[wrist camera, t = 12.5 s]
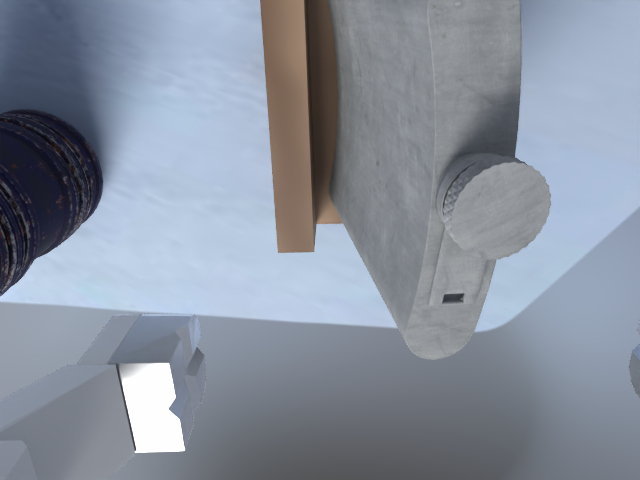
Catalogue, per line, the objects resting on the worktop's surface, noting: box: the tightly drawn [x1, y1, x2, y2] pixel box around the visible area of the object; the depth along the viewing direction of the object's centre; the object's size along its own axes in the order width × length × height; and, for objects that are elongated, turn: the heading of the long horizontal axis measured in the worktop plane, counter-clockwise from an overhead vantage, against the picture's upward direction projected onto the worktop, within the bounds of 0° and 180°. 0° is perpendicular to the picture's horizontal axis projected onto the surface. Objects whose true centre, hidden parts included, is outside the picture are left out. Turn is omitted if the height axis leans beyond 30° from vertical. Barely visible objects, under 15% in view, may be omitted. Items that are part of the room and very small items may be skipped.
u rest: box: [260, 0, 343, 253], centre depth 34 cm, size 11×18×6 cm, turn 2°
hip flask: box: [327, 0, 551, 359], centre depth 27 cm, size 16×4×20 cm, turn 1°
